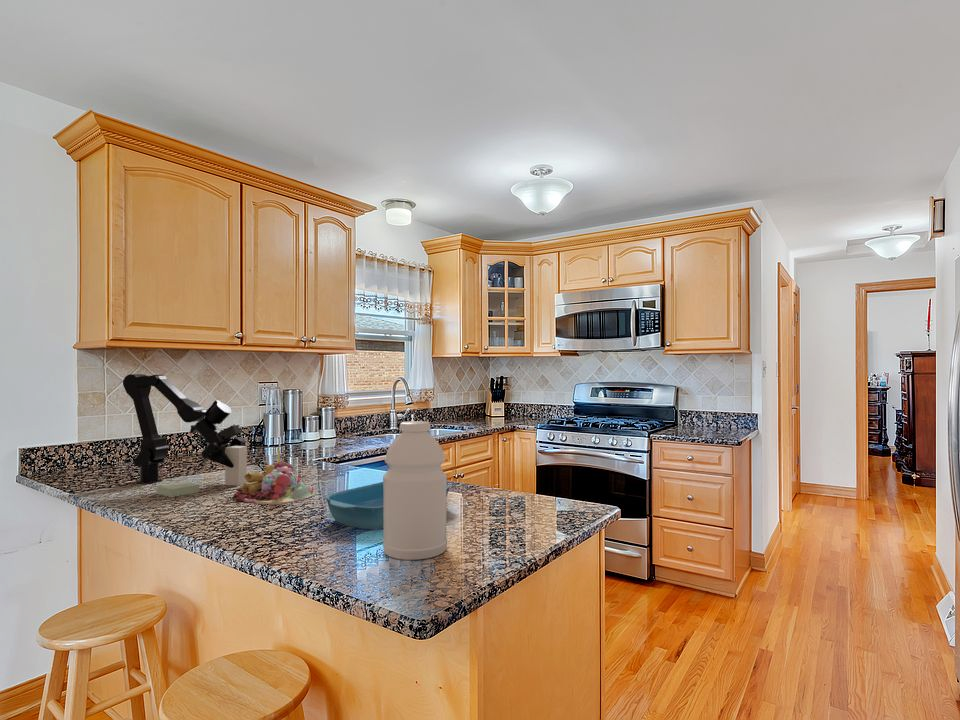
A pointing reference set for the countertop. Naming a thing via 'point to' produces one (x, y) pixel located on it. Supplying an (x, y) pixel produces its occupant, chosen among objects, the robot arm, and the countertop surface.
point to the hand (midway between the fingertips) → (239, 465)
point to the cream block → (236, 465)
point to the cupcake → (281, 463)
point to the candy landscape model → (273, 487)
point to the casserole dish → (359, 506)
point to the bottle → (414, 495)
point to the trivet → (177, 489)
